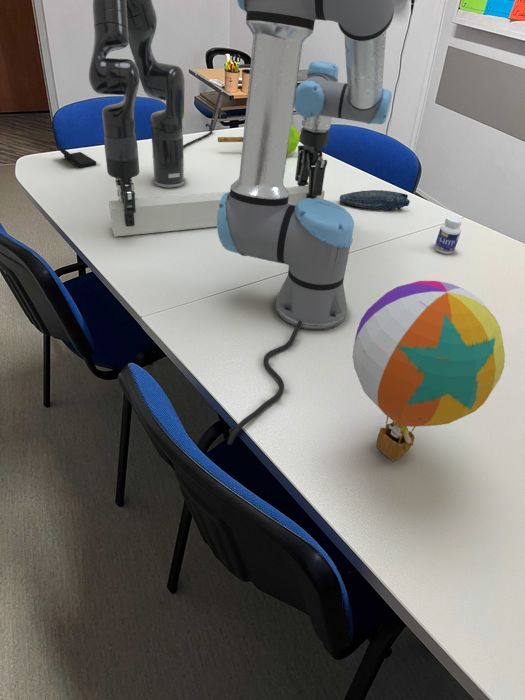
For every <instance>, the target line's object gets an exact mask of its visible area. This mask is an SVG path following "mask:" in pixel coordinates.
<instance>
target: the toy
mask: <svg viewBox="0 0 525 700" xmlns="http://www.w3.org/2000/svg"><path fill="white" fill-rule="evenodd" d="M356 329H357V330H356V333H355V338H354V343H353V348H352V363H353V368H354V371H355V373H356V375H357V378H358V380H359V383H360V386H361V388H362V390H363V392H364V394H365V395H366V396H367V397H368V398H369V399H370V401H371V402H373V403H374V405H375V406H376V407H377V408H378V409H379V410H380V411H381V412H382V413H383V414H384V415H385V416H386V422H385V427H380V428H379V432H378V434H377V438H376V442H375V444H376V448H377V449H378V451H380V453H382V454H383V455H385V456H386V457H387V459H390V461H392V462H396V461H398V460H399V459H400V458H401V457H403V456H404V455H405V454H407V452H409V451H410V449H411V447H413V446H414V445H415V444H414V442H415V439H416V436H415V434H414V433H413V432H414V430H415V429H416V427H417V428H418V427H433V426H443V425H448V424H451V423H453V422H455V421H458V420H460V419H462V418H465V417H467V416H469V415H471V414H472V413H474V412H477V411H478V410H479V409H480V408H481V407H482V406H483V405H484V404H485V403H486V401H487V400H488V398H489V397H490V395H491V393H492V392H493V390H494V389H495V388H496V386H497V384H498V382H499V381H500V380H501V378H502V375H503V371H504V369H505V360H506V359H505V358H506V353H505V347H504V341H503V335H502V329H501V326H500V324H499V321H498V320H497V318H496V316H495V315H494V314H493V312H492V311H491V310H490V309H489V308H488V306H487V305H486V304H485V303H484V302H483V301H482V299H481V298H480V297H478V296H476V295H475V294H473V293H472V292H470V291H469V290H467V289H465V288H463V287H460V286H457V285H455V284H453V283H449V282H444V281H440V280H439V281H438V280H417V281H414V282H410V283H407V284H402V285H399V286H396V287H394V288H392V289H391V290H389V291H387V292H386V293H384V294H383V295H382V296H381V297H380V298H378V299H377V300H376V301H375V302H374V303H373V304H372V305H371V306H369V308H367V310H366V311H365V313H364V314H363V316H362V317H361V318H360V320H359V324H358V327H357V328H356ZM389 419H390V420H391V421H392V422H391V423H388V422H389V421H388V420H389ZM408 427H411V428H412V427H413V428H412V430H411V431H410V430H409V428H408Z"/></svg>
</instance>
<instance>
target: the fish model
mask: <svg viewBox="0 0 525 700" xmlns="http://www.w3.org/2000/svg"><path fill="white" fill-rule="evenodd" d="M410 202H411V201H410V200H409V195H408V194H406V193H403V192H402V193H401V192H399V191H392V190H382V189H380V190H379V189H377V190H376V189H368V190H360V191H352V192H348V193H344V194H341V195H340V196H339V203H343V204H346V205H349V206H351V207H357V208H362V209H371V210H372V209H374V210H384V211H385V210H386V211H391V210H394V209H397V210H402V208H404V207H408V206H409V205H410Z"/></svg>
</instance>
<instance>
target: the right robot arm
mask: <svg viewBox="0 0 525 700" xmlns="http://www.w3.org/2000/svg"><path fill="white" fill-rule="evenodd" d="M236 2H237V4H238V7H239V8H240V9H241V10H242V11H244V12H245V13H246V17H245V24H246V26H247V27H248V29H249V30H250V32H251V34H252V37H253V38H252V47H251V57H250V65H249V66H250V67H249V75H248V87H247V95H246V96H247V97H246V106H245V108H246V109H245V115H244V116H245V117H244V128H243V135H242V137H243V142H242V148H241V156H240V157H241V158H240V166H239V177H238V179H237V180H235V181H234V182H233V183H231V184H230V187H229V188H230V189H229V191H227V192H228V193H225V194H224V195H223V196H222V198H221V200H220V203H219V209H218V213H217V226H216V228H217V229H216V230H217V236H218V239H219V242H220V244H221V245H222V247H223V248H224V249H225V250H227V251H229V252H231V253H235V254H238V255H240V256H242V257H250V258H254V259H259V260H263V261H264V260H265V261H269V262H273V263H279V264H283V265H288V270H287V271H288V272H287V275H286V278H285V279H284V282H283V283H282V285H281V287H280V290H279V291H278V294H277V296H276V300H275V311H276V313H277V315H278V316H279V317H280V318H281V319H282V320H283V321H284V322H286V323H287V324H289V325H291V326H293V327H294V329H293V331H292V332H291V335H290V338H289V339H288V341H287V342H286V343H284V344H283V345H281V346H278V347H276V348H273V349H271V350H269V351H268V352H267V353H265V355H264V357H263V365H264V367H265V370H267V371H268V373H270V375H272V377H273V378H274V379H275V380H276V381H277V383H278V390H277V392H276V393H275V394H274V395H273V396H272V397H271V398H269V399H267V400H266V401H264V402H263V403H262V404H261V405H260V406H259V407H258V408H256V410H254V411H253V412H252V413H250V414H249V415H247V416H246V417H244V418H243V419H242V420H241V421H240V422H238V424H237V425H236V426H235V427H234V429H233V430H232V432H231V433H230V435H229V437H228V439H227V442H226V444H227V445H228V446H231V445H232V444H233V443H234V441H235V439H236V438H237V436H238V434H239V433H240V431H241V430H242V428H244V427H245V425H247V424H248V423H250V422H251V421H252V420H254V419H255V418H256V417H257V416H259V415H261V413H262V412H263V411H265V410H266V409H267V408H268V407H269V406H271V405H272V404H274V403H275V402H276V401H278V400H279V399H280V398H281V396H282V395H283V393H284V390H285V384H284V380H283V379H282V377H281V376H280V375H279V373H277V371H276V370H274V368H272V366H271V365H270V363H269V359H270V357H271V356H273V355H275V354H277V353H280V352H282V351H284V350H286V349H288V348H289V347H290V346H291V345H292V344H293V343H294V341H295V339H296V336H297V334H298V333H299V331H300V329H304V330H310V331H324V330H325V331H326V330H329V329H333V328H336V327H337V326H339V325H340V324H342V323H343V322H344V320H345V318H346V315H347V310H348V309H347V308H348V307H347V306H348V305H347V297H346V292H345V286H344V280H345V275H346V271H347V267H348V266H347V265H348V260H349V256H350V255H349V254H350V250H351V246H352V244H353V242H354V239H353V236H354V235H353V234H354V228H355V221H354V219H353V216H352V215H351V213H349V211H348V210H347V209H346V208H344V207H343V206H341V205H339V204H338V203H335V202H333V201H330V200H328V199H325V198H324V199H319V198H316V197H317V196H320V195H321V194H322V189H323V186H324V180H325V172H326V168H327V164H328V159H324V158H323V150H324V148H325V147H327V146H328V144H329V138H330V131H329V130H330V129H331V125H332V118H335V119H341V120H347V121H352V122H353V121H354V122H359V123H364V124H368V125H371V124H372V125H383V124H385V123H386V121H387V118H388V115H389V112H390V107H391V102H392V95H393V93H392V91H391V90H389V89H386V88H384V87H383V85H384V83H383V82H384V68H385V54H386V43H387V42H386V41H387V40H386V39H387V30H388V29H389V28H390V26H391V24H392V22H393V18H394V13H395V0H236ZM317 20H318V21H325V22H326V21H329V22H334V23H337V25H338V28H339V30H340V32H341V33H342V35H343V36H344V37H343V38H344V52H345V70H346V83H345V82H339V78H338V77H339V66H338V65H337V64H336V63H334V62H330V61H325V60H324V61H323V60H315V61H311V62H310V63H309V65H308V68H307V69H308V70H307V73H306V79H305V80H303V81H302V82H300V83H299V84H298V79H299V72H300V66H301V65H300V64H301V57H302V51H303V44H304V42H305V41H306V40H307V39H308V38H309V37H310V36H311V35H312V34H313V33H314V30H315V22H316V21H317ZM294 110H295V112H296V113H297V114H298V115H299V116H301V126H302V128H301V129H300V134H299V137H300V140H299V143H300V145H297V160H296V169H295V177H294V180H295V182H297V183H296V184H297V186H308V185H309V193H306V195H307V197H306V198H305V199H302V200H300V201H299V202H298V203H297V205H296V206H295V205H290V204H288V198H289V192H288V191H287V189H286V188H285V187H286V186H285V185H284V179H285V178H284V177H285V173H286V172H285V171H286V165H287V156H288V154H287V151H288V144H289V137H290V129H291V125H292V123H293V122H292V121H293V114H294Z"/></svg>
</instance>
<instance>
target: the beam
mask: <svg viewBox="0 0 525 700" xmlns="http://www.w3.org/2000/svg"><path fill="white" fill-rule="evenodd" d="M284 187H285V188H286V189H287V191H288V192H289V198H288V204H290V205H295V206H296V205H297V203H298V202H299V201H300V200H302V199H305V198H306V197H307V195H306V193H309V185H305V186H298V185H296V186H284ZM228 192H229V191H220V192H219V191H218V192H206V193H205V192H204V193H193V194H181V195H168V196H167V195H166V196H155V197H141V198H135V209H136V212H135V213H134V223H135V225H134V226H129V227H127V226H126V224H125V215H124V211H123V203H121V202H120V200H119V199H116V200H108V209H109V217H110V218H109V219H110V227H111V230H112V233H113V236H114V238H115V237H116V238H117V237H124V236H135V235H143V234H145V235H146V234H155V233H156V234H157V233H167V232H174V231H175V232H176V231H186V230H195V229H204V228H214V227H215V228H217V213H218V209H219V203H220V200H221V198H222V196H223V195H224V194H225V193H228ZM325 192H326V191H325V190H324V189H323V188H322V194H321V195H320V196H317V197H316V198H319V199H324V200H325V194H326V193H325ZM128 207H131V206H127V208H128Z"/></svg>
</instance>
